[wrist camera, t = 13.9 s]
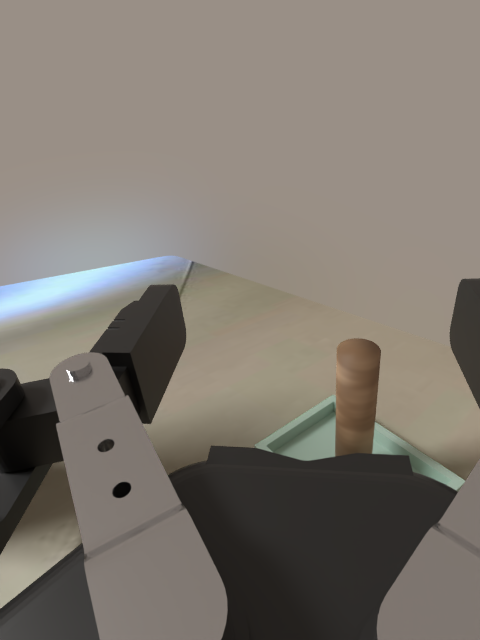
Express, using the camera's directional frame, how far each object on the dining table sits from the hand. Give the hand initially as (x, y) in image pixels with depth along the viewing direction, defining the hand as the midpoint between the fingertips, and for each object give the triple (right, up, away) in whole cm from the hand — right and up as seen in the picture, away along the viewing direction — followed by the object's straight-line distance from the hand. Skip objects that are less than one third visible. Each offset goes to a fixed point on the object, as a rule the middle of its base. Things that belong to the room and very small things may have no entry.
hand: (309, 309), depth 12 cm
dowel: (+8, -15, +27) cm, 31 cm away
